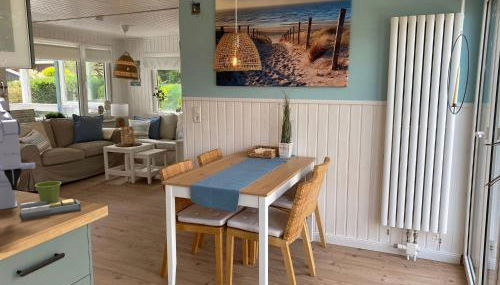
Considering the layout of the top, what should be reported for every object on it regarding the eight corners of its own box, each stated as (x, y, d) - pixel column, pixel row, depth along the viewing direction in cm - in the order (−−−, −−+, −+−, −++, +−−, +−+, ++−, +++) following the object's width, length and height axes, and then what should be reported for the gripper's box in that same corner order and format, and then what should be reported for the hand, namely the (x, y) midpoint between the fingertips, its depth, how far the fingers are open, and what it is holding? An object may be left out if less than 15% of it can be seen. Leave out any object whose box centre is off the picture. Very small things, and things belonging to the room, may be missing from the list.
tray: (47, 209, 151) (47, 203, 151) (77, 204, 157) (76, 199, 157) (50, 214, 145) (49, 208, 145) (80, 209, 151) (80, 203, 151)
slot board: (20, 212, 147) (19, 203, 146) (47, 208, 152) (46, 199, 151) (22, 219, 140) (21, 210, 139) (50, 214, 145) (49, 205, 144)
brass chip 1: (48, 208, 150) (47, 202, 150) (59, 206, 152) (59, 200, 152) (49, 211, 147) (49, 205, 146) (61, 209, 149) (60, 203, 148)
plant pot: (31, 206, 155) (29, 185, 154) (52, 200, 163) (51, 179, 162) (46, 209, 151) (44, 188, 149) (67, 203, 159) (66, 182, 158)
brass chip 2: (61, 206, 152) (61, 200, 152) (72, 204, 155) (72, 198, 154) (63, 209, 149) (62, 203, 149) (74, 207, 151) (74, 201, 151)
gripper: (-14, 156, 133) (-10, 195, 135) (35, 152, 141) (37, 189, 143) (-14, 153, 139) (-10, 190, 141) (33, 150, 147) (35, 185, 149)
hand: (14, 189), depth 142 cm, fingers closed
